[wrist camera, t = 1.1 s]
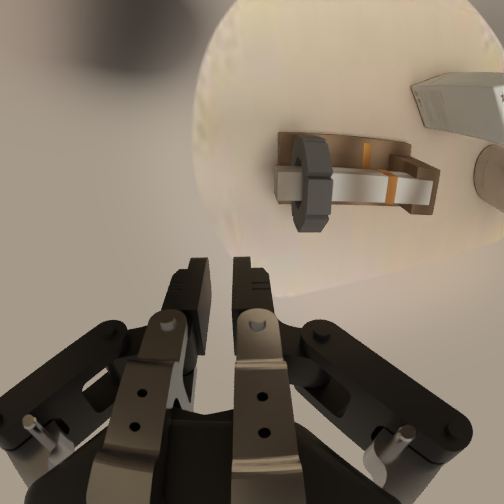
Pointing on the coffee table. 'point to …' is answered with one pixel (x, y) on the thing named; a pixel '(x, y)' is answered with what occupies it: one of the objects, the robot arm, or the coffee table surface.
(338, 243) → the coffee table surface
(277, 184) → the pipe stand
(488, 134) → the skincare box
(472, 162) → the coffee table surface
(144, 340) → the robot arm
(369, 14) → the coffee table surface
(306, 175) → the o ring
